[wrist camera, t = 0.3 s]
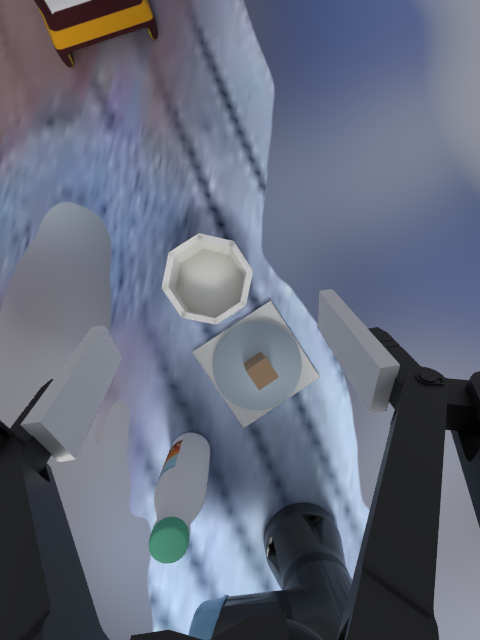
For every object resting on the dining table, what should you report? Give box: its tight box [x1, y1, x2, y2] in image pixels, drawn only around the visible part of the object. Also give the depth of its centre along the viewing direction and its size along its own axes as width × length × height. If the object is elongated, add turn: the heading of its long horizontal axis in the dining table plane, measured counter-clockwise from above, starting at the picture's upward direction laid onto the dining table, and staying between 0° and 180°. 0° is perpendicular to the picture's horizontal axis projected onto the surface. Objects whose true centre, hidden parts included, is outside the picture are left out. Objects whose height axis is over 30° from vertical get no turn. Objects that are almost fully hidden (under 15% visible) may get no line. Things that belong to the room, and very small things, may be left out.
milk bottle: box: [149, 433, 210, 563], centre depth 39 cm, size 8×8×20 cm
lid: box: [213, 321, 302, 410], centre depth 45 cm, size 17×17×7 cm
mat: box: [192, 301, 319, 428], centre depth 49 cm, size 18×18×1 cm
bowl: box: [161, 233, 253, 325], centre depth 44 cm, size 14×14×7 cm
